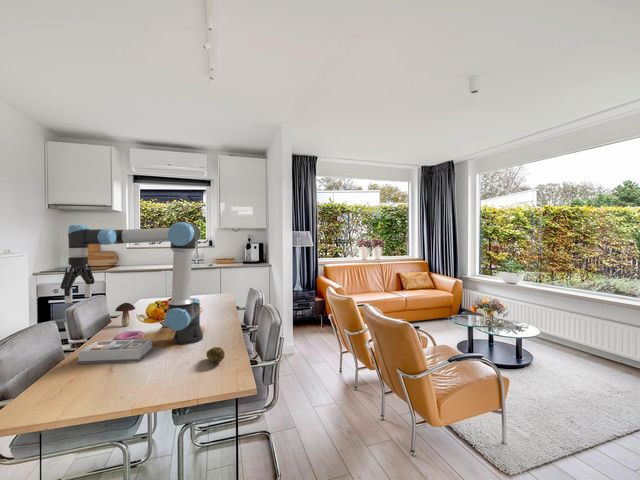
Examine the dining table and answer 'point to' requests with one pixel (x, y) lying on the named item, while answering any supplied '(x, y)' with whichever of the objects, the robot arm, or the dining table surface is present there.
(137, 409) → the dining table surface
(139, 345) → the key ivory
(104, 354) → the keypad board
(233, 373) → the dining table surface
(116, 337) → the donut
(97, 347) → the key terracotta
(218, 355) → the green bumpy oval piece
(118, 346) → the key slate
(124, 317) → the decorative mushroom
